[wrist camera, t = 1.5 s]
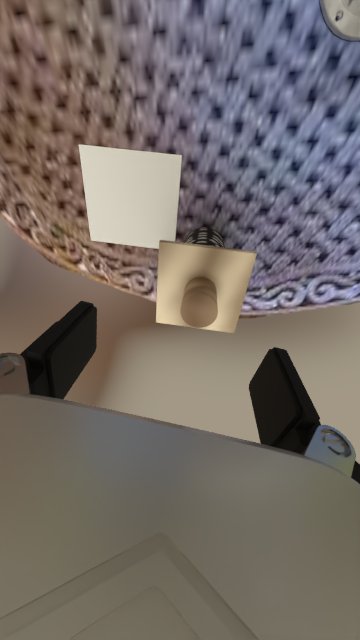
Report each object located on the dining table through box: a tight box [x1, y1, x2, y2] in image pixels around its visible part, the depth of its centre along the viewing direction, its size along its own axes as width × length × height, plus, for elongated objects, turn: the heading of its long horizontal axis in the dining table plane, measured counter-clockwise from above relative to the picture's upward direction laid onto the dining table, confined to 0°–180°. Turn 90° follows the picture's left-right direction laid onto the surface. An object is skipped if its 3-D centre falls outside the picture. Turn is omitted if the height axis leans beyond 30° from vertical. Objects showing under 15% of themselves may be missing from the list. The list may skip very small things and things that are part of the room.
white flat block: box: [79, 145, 182, 249], centre depth 41 cm, size 18×16×1 cm
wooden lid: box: [156, 240, 257, 333], centre depth 25 cm, size 11×11×6 cm
